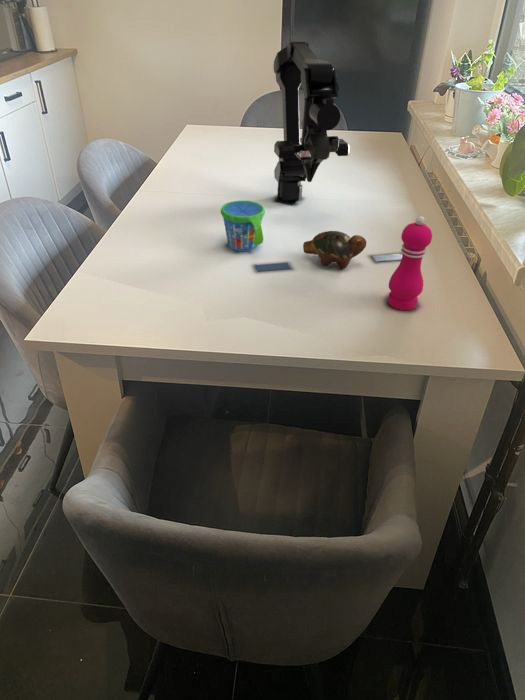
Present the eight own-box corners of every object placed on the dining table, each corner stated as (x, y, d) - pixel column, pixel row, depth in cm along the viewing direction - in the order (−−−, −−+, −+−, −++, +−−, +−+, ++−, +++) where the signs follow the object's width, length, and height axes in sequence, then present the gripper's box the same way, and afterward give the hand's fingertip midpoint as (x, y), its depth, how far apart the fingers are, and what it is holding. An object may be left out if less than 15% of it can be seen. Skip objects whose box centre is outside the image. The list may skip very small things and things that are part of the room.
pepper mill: (381, 294, 122) (398, 209, 110) (412, 294, 122) (432, 209, 110) (390, 312, 116) (408, 224, 104) (423, 311, 117) (445, 224, 105)
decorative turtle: (364, 274, 129) (366, 244, 124) (300, 271, 131) (300, 241, 126) (365, 254, 136) (367, 225, 131) (305, 251, 138) (305, 222, 133)
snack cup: (211, 237, 142) (211, 199, 136) (248, 230, 146) (249, 194, 140) (235, 263, 131) (236, 223, 125) (274, 255, 135) (276, 216, 129)
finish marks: (255, 265, 131) (255, 265, 130) (400, 254, 138) (400, 253, 138) (258, 271, 128) (258, 271, 128) (405, 259, 136) (405, 259, 136)
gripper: (286, 129, 126) (282, 194, 136) (361, 127, 130) (353, 190, 139) (274, 117, 135) (272, 179, 144) (345, 115, 139) (338, 176, 148)
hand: (309, 181), depth 144 cm, fingers closed
